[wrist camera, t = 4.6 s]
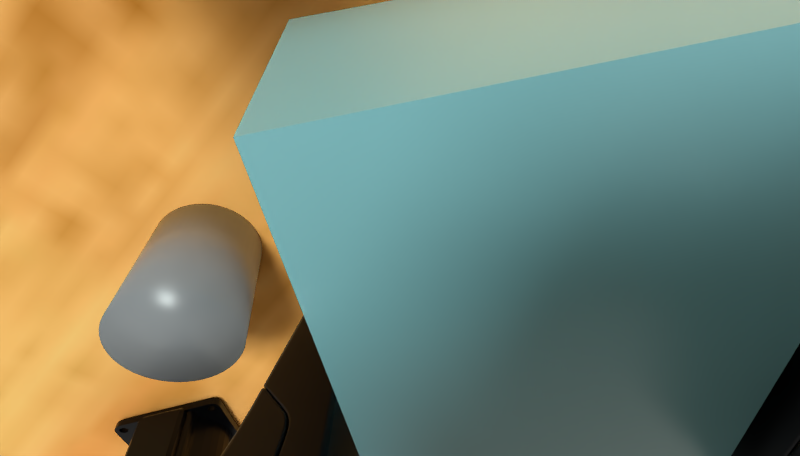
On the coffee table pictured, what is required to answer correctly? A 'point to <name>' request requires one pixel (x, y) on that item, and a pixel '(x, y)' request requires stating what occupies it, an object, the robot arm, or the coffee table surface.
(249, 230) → the grey cylinder
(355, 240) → the teal long brick
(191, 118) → the coffee table surface
